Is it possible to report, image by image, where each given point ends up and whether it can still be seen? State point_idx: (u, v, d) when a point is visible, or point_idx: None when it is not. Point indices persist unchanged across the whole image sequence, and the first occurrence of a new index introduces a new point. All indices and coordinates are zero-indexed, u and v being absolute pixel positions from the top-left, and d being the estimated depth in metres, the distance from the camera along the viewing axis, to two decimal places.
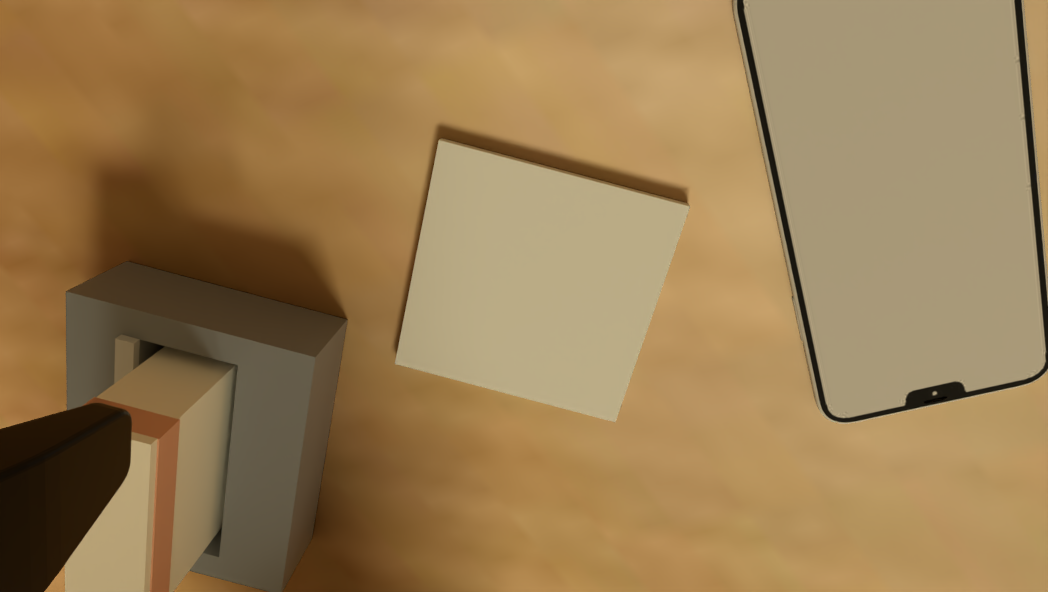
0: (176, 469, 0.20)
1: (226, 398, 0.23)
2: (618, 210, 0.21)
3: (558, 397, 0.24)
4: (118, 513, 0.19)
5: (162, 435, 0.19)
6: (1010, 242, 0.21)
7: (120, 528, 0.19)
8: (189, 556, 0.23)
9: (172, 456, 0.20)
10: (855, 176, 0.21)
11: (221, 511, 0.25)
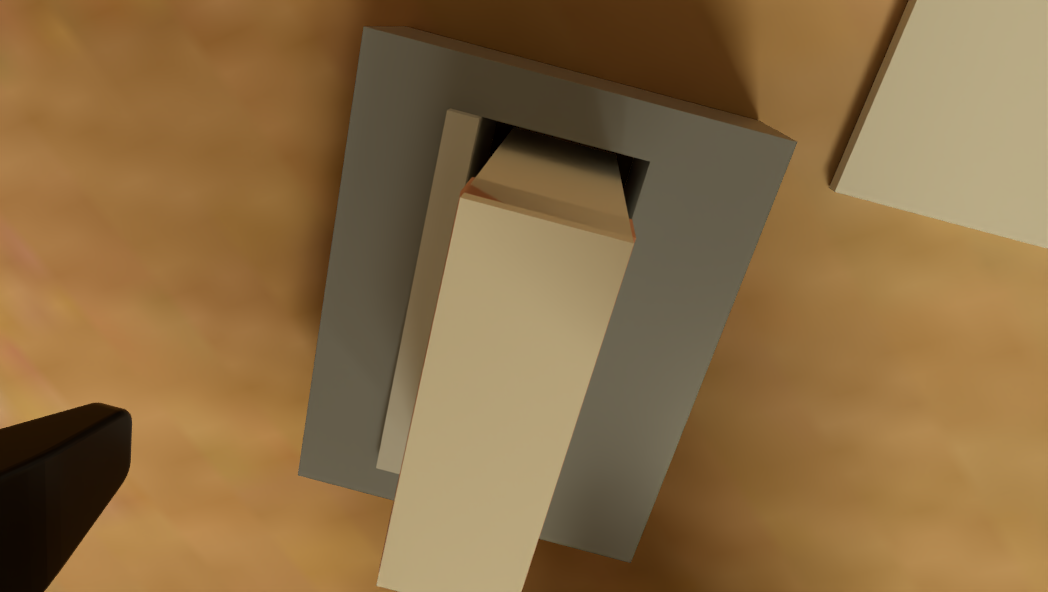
0: None
1: None
2: None
3: None
4: (526, 392, 0.10)
5: (629, 238, 0.10)
6: None
7: (523, 421, 0.10)
8: None
9: None
10: None
11: None
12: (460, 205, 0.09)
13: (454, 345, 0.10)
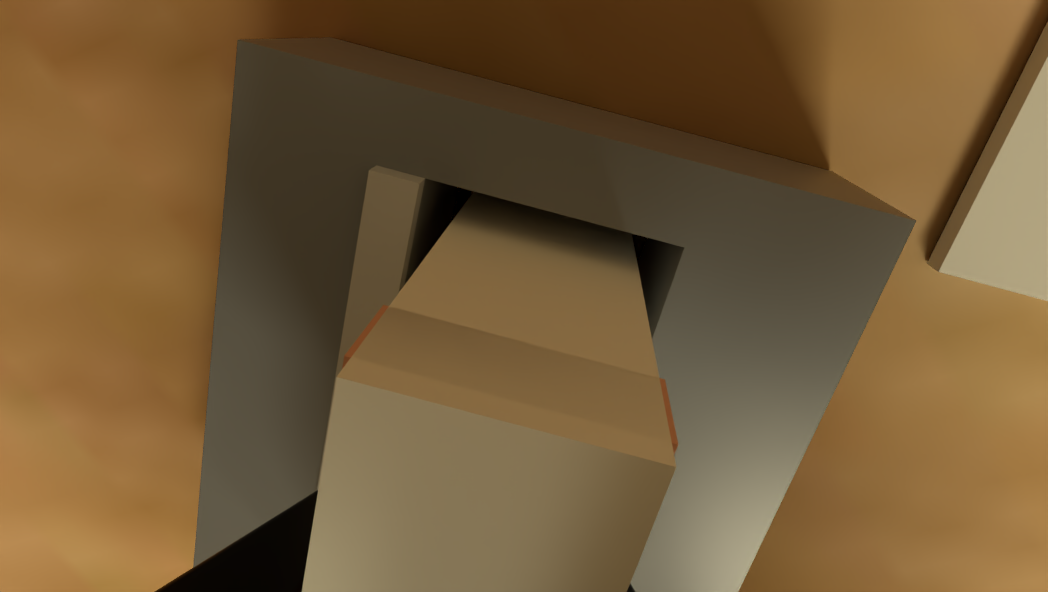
0: None
1: None
2: None
3: None
4: None
5: (664, 433, 0.05)
6: None
7: None
8: None
9: None
10: None
11: None
12: (337, 391, 0.05)
13: None
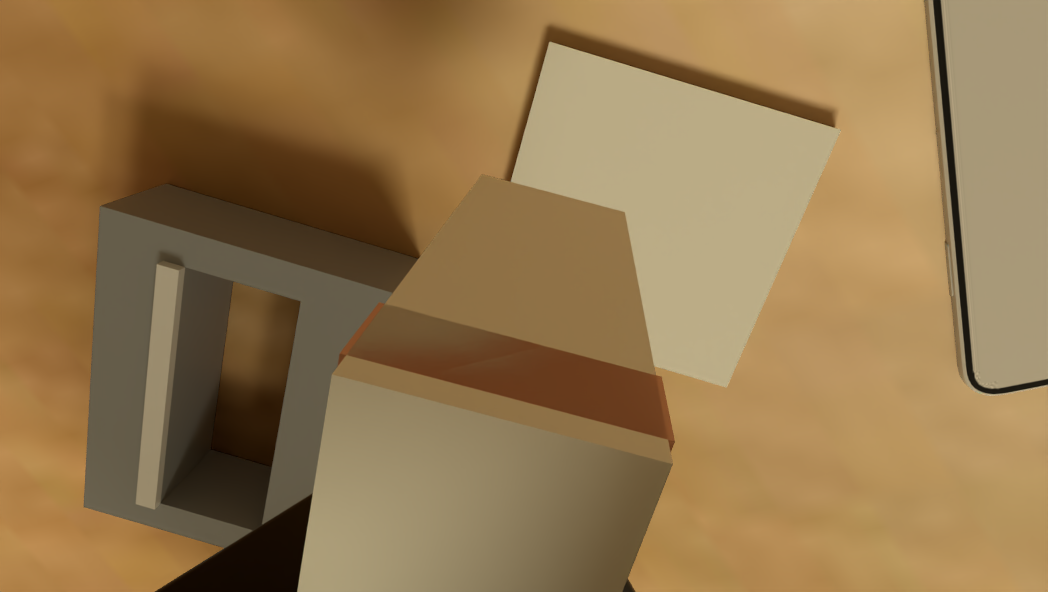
0: None
1: None
2: (755, 133, 0.18)
3: (663, 356, 0.21)
4: None
5: (660, 430, 0.05)
6: None
7: None
8: None
9: None
10: (1040, 97, 0.18)
11: None
12: (332, 389, 0.05)
13: None
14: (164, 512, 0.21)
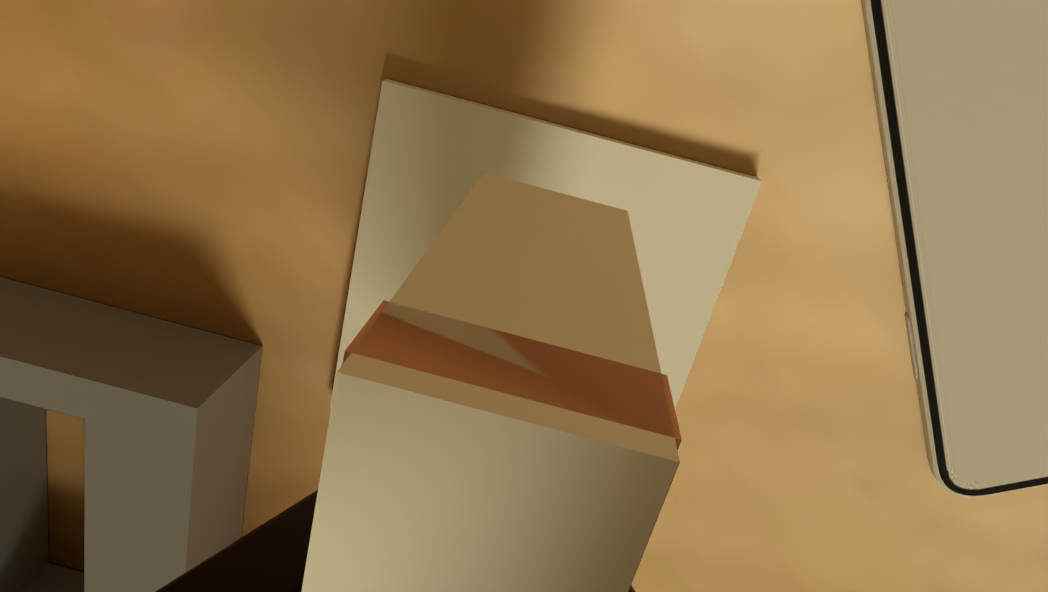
0: None
1: None
2: (653, 187, 0.14)
3: None
4: None
5: (667, 427, 0.05)
6: None
7: None
8: None
9: None
10: (1019, 133, 0.13)
11: None
12: (338, 387, 0.05)
13: None
14: None
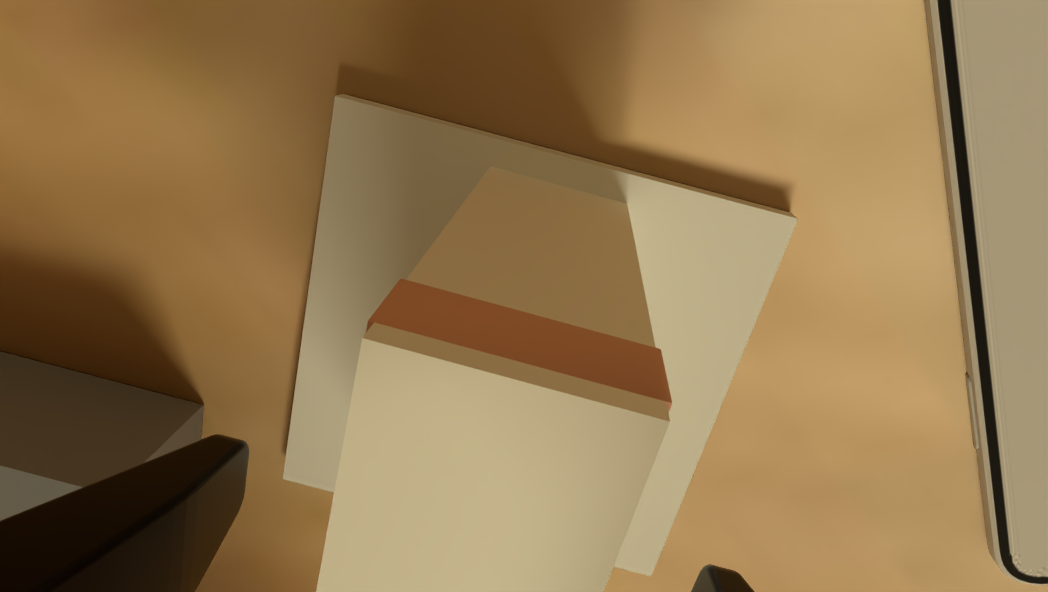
0: None
1: None
2: (665, 226, 0.12)
3: None
4: None
5: (659, 394, 0.06)
6: None
7: None
8: None
9: None
10: None
11: None
12: (363, 351, 0.05)
13: (364, 566, 0.06)
14: None
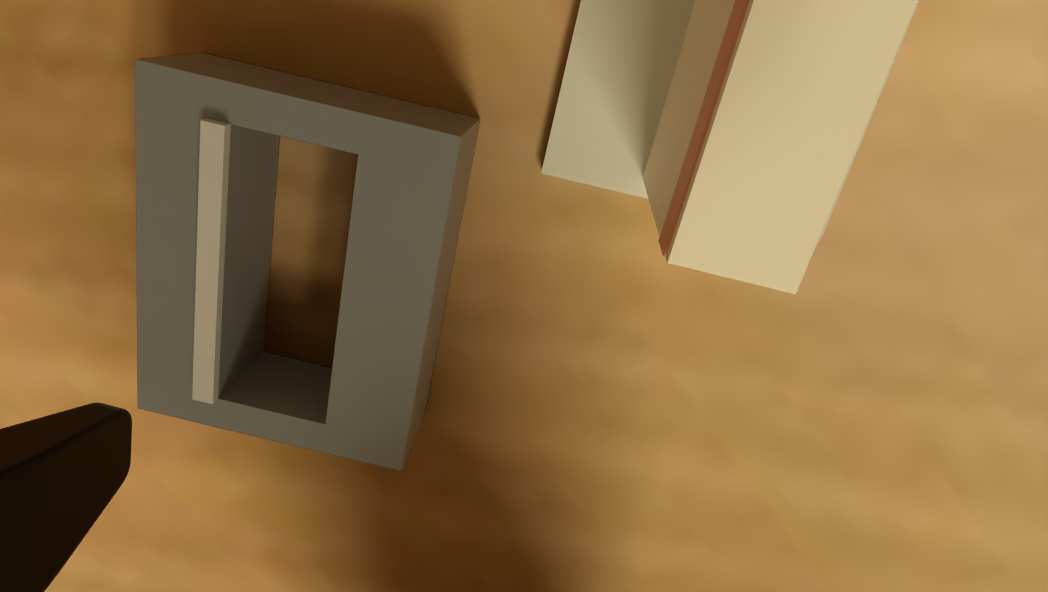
0: None
1: None
2: None
3: None
4: (848, 31, 0.11)
5: None
6: None
7: (840, 64, 0.11)
8: None
9: None
10: None
11: None
12: None
13: None
14: (222, 408, 0.20)
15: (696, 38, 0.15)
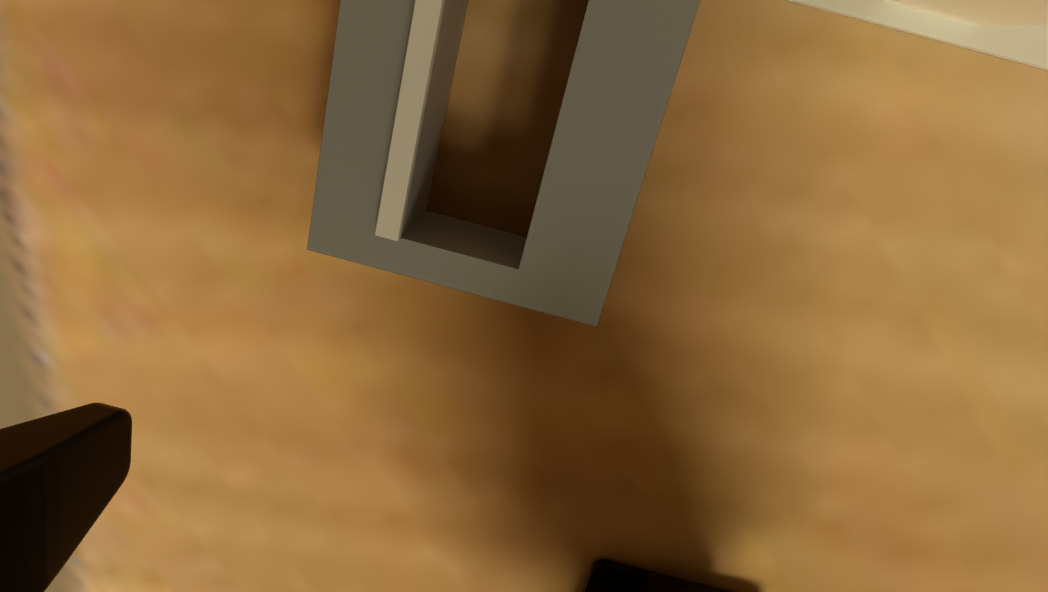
0: None
1: None
2: None
3: (1000, 38, 0.17)
4: None
5: None
6: None
7: None
8: None
9: None
10: None
11: None
12: None
13: None
14: (404, 250, 0.18)
15: None
